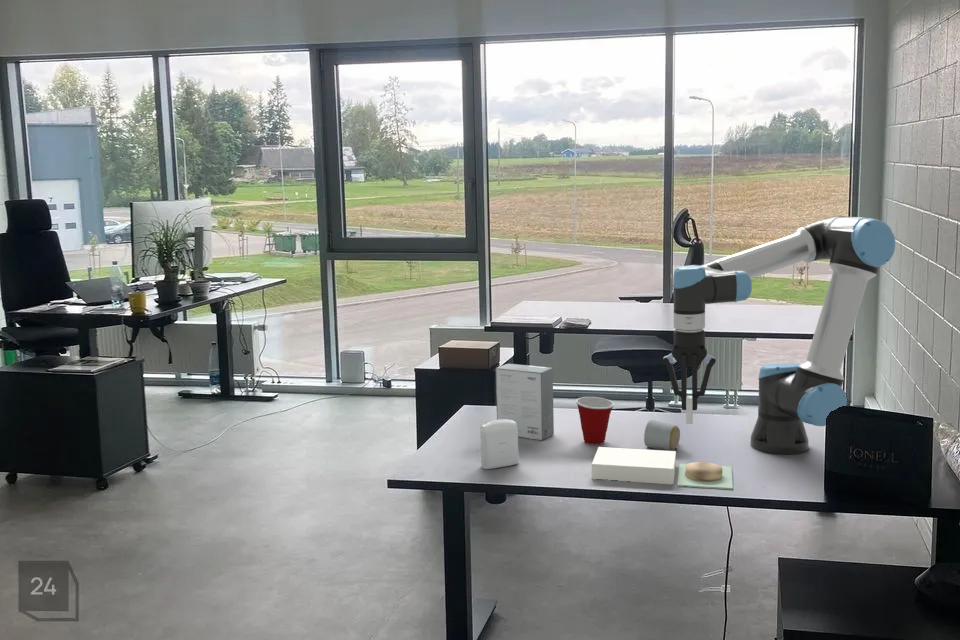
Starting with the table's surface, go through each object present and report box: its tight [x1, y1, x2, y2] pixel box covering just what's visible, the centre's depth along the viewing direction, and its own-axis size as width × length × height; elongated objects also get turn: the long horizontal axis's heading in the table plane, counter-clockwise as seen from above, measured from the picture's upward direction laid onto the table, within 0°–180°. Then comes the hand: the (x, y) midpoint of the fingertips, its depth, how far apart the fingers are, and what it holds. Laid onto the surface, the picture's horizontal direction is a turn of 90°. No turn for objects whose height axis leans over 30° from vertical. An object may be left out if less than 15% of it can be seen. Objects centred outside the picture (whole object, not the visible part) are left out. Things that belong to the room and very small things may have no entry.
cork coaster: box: [685, 461, 722, 482], centre depth 228 cm, size 9×9×2 cm
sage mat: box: [676, 463, 734, 491], centre depth 229 cm, size 13×16×1 cm
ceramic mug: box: [643, 419, 681, 451], centre depth 253 cm, size 11×8×8 cm
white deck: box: [591, 446, 677, 485], centre depth 233 cm, size 20×14×4 cm
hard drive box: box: [495, 363, 555, 441], centre depth 266 cm, size 16×8×20 cm, turn 58°
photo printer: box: [479, 419, 519, 470], centre depth 240 cm, size 10×4×12 cm, turn 112°
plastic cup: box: [575, 396, 615, 445], centre depth 258 cm, size 11×11×12 cm
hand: (689, 422), depth 228 cm, fingers closed
